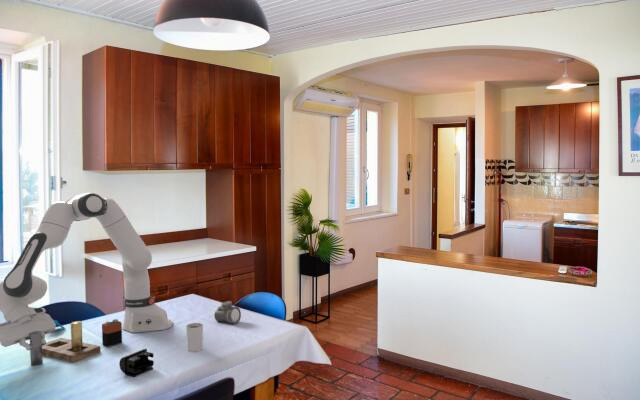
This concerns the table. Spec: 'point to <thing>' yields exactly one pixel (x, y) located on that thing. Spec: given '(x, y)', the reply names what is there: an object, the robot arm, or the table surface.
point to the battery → (112, 333)
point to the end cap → (136, 363)
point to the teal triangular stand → (58, 324)
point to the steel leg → (36, 348)
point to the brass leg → (76, 336)
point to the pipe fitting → (228, 313)
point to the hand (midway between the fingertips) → (37, 346)
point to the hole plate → (68, 350)
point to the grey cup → (195, 336)
